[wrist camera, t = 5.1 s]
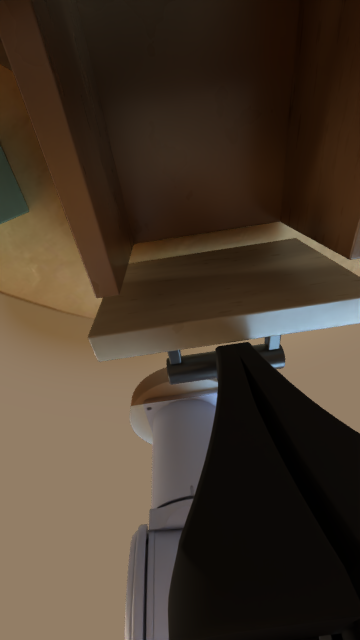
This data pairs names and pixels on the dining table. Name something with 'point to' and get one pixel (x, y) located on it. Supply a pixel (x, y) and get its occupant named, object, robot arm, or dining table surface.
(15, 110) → the dining table surface
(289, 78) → the drawer
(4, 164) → the block
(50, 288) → the dining table surface
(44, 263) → the dining table surface
